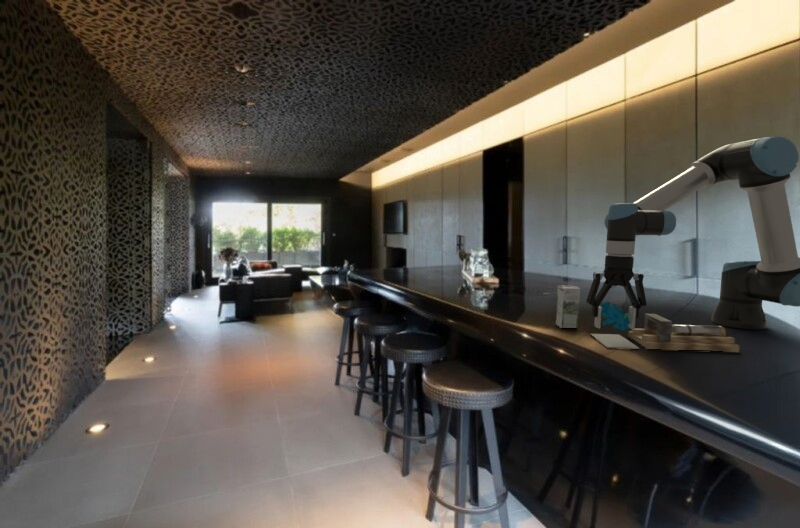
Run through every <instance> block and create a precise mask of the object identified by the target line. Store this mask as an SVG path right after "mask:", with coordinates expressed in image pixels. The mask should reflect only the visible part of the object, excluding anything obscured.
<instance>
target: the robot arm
mask: <svg viewBox="0 0 800 528" xmlns="http://www.w3.org/2000/svg"><path fill="white" fill-rule="evenodd" d="M798 162H799V150H798V148H797V147H796V145H795V144H794V142H792V141H791V139H787V138H786V137H785V136H781V135H780V136H779V135H778V136H776V135H775V136H764V137H760V138H755V139H754V138H753V139H750V140H745V141H740V142H733V143H728V144H726V145H723V146H720V147H719V148H716V149H715V150H713V151H711V152H709V153H708V154H707V153H706V154H705V155H704V156H702V157H701V158H699V159H697V160H696V161H694V162H692V163H690V165H688V168H687V170H685V171H683V172H682V173H680V174H678V175H677V176H675V177H674V178H672V179H670V180H669V181H667V182H665V183H664V184H662V185H661V186H659V187H657V188H656V189H654V190H652V191H650V192H649V193H647V194H646V195H644V196H642V197H641V198H639V199H638V200H636V201H634V202H633V203H632V202H619V203H617V202H616V203H612V204H610V205H609V208H608V212H607V215H606V216H605V218H604V226H605V228H606V241H605V242H606V245H605V253H606V255H605V257H604V258H605V259H604V269H603V271H602V272H596V271H594V272H593V273H592V277H593V279H592V283H591V285H590V289H589V291H588V295H587V297H586V302H585V303H587V304H589V305H591V306H592V309H591V315H592V317H594V324H593V325H594V327H595V328H597V329H601V323H602V322H601V321H602V306H601V304H602V302H603V300H604V299H605V298H606V296H607V294H608V293H609V291H610V290H611V289H612V288H613V287H617V286H621V287H623V288H624V291H625V293H626V296H627V297H628V299H629V301H630V303H631V305H629V306H628V314H629V316H628V318H627V320H628V321H630V324H628V326H629V328H628V329H630V330H632V329H635V327H636V319H638V318H639V314H640V309H642V307H646V306H647V303H648V302H647V299H646V298H647V297H646V294H645V293H646V292H645V287H644V283H643V281H644V277H645V275H644V274H643V273H639V272H636V273H634V271H633V269H634V259H635V258H634V256H633V255H634V254H635V249H636V248H635V247H636V243H635V242H636V237H637V236H660V237H661V236H668V235H670V234H671V233H673V231H675V229H676V226H677V217H676V215H675V214H674V212H672V211H670V210H668V209H670V208H671V207H673V206H674V205H676V204H677V203H679V202H682V200H684V199H686V198H688V197H689V196H690V195H692V194H694V193H696V192H697V191H699V190H701V189H702V188H705V189H707V188H710V187H712V186H714V185H715V184H717V183H721V182H725V181H735V180H736V181H737V180H738V186H739V188H740V189H742V190H743V191H745V192H746V193H747V197H748V201H749V206H750V210H751V218H752V221H753V226H754V230H755V231H754V232H755V236H756V237H755V238H756V242H757V246H758V252H759V256H760V260H743V261H742V260H738V261H737V260H736V261H735V260H733V261H732V260H731V261H725V263H724V264H723V267H722V271H721V279H720V280H721V281H720V291H719V292H720V293H719V301H718V303H717V304H716V307H715V309H714V310H713V312H712V314H711V322H713V323H714V324H717V325H719V326H723V327H729V328H736V329H743V330H753V331H755V330H757V331H759V330H765V329H767V319H766V316H765V312H764V309H763V301H765V302H770V303H774V304H779V305H782V306H789V307H790V306H791V307H800V257H799V255H798V249H797V244H796V238H795V233H794V229H793V224H792V218H791V212H790V206H789V201H788V195H787V190H786V185H785V184H786V182H788V181H789V180H790V179H791V173H792V172H793V171H794V170H796V168H797V165H798V164H797V163H798ZM603 278H604V279H605V280H604V282H603V284H602V287H601V288H600V290H599V287H600V284H601V280H602V279H603ZM632 279H633V280H634V285H635V286H634V287H635V290H636V291H635V292H636V293H635V292H634V289H633V286H632V283H631V282H630V281H631V280H632ZM598 290H599V291H598ZM597 292H598V293H597Z"/></svg>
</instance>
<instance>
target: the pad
mask: <svg viewBox="0 0 800 528" xmlns="http://www.w3.org/2000/svg"><path fill="white" fill-rule="evenodd" d="M590 334H591V335H592V336H594V337H595V338H596V339H597V340H599V341H600V342H601V343H602V344H603V345H605V346H606V347H608V348H627V349H626V350H630V349H639V350H640V347H639V346H637V345H636V344H635V343H632V342H631V341H630V340H629V339H627V338H625V337H624V336H622V335H621V334H618V333H617V334H615V333H614V334H612V333H590ZM602 344H601V345H602ZM603 345H602V346H603Z"/></svg>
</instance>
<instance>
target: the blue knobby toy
mask: <svg viewBox="0 0 800 528" xmlns="http://www.w3.org/2000/svg"><path fill="white" fill-rule="evenodd" d="M600 307H602V311H601V317H602V318H604V319H605V318H606V320H604V321H603V322H601V323H602V325H603V326H606V325H611V324H612V323H613V324H614V325H612V327H613V328H614V329H615V330H617V329H619V330H620V331H622V332H624V331H626V330H628V329H630V328H629V326H628V324H630V321H628V317H629V312H627V313H623V312H624V310H623V309H622V307H619V308H618V309H617V308H616V307H618V305H617V304H616V303H614V302H613V303H611V302H610V301H606V302H603V303H602V302H601V304H600Z"/></svg>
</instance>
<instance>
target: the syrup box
mask: <svg viewBox="0 0 800 528" xmlns="http://www.w3.org/2000/svg"><path fill="white" fill-rule="evenodd" d="M556 292H557V294H556V295H557V296H556V313H555V325H556V326H557V327H558V326H559V327H558V328H560V329H561V328H578V327H579V315H580V314H579V313H580V302H581V301H580V299H581V288H580V287H578V286H576V285H557V291H556ZM578 329H579V328H578Z"/></svg>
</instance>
